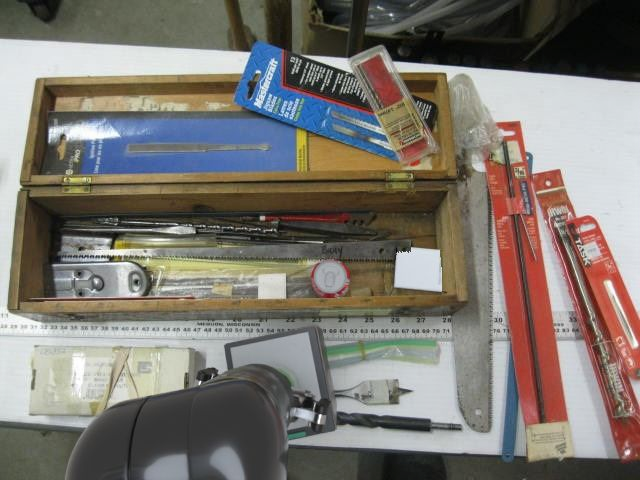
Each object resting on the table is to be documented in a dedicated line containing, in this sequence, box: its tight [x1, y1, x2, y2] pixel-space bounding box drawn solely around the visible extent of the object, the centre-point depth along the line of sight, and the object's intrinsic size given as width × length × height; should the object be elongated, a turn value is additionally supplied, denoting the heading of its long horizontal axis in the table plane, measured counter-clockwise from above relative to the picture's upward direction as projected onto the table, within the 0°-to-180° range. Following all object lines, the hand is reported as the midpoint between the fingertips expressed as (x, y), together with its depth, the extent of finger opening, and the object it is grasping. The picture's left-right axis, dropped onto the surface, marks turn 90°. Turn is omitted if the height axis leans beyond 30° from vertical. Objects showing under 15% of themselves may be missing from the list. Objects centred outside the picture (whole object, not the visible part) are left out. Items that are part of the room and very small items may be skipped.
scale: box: [223, 325, 336, 442], centre depth 61 cm, size 14×13×3 cm
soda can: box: [310, 258, 351, 299], centre depth 84 cm, size 7×7×12 cm
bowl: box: [271, 365, 299, 389], centre depth 57 cm, size 6×6×5 cm
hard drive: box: [393, 246, 443, 293], centre depth 89 cm, size 2×8×12 cm
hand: (272, 390), depth 55 cm, fingers open, 8 cm apart
